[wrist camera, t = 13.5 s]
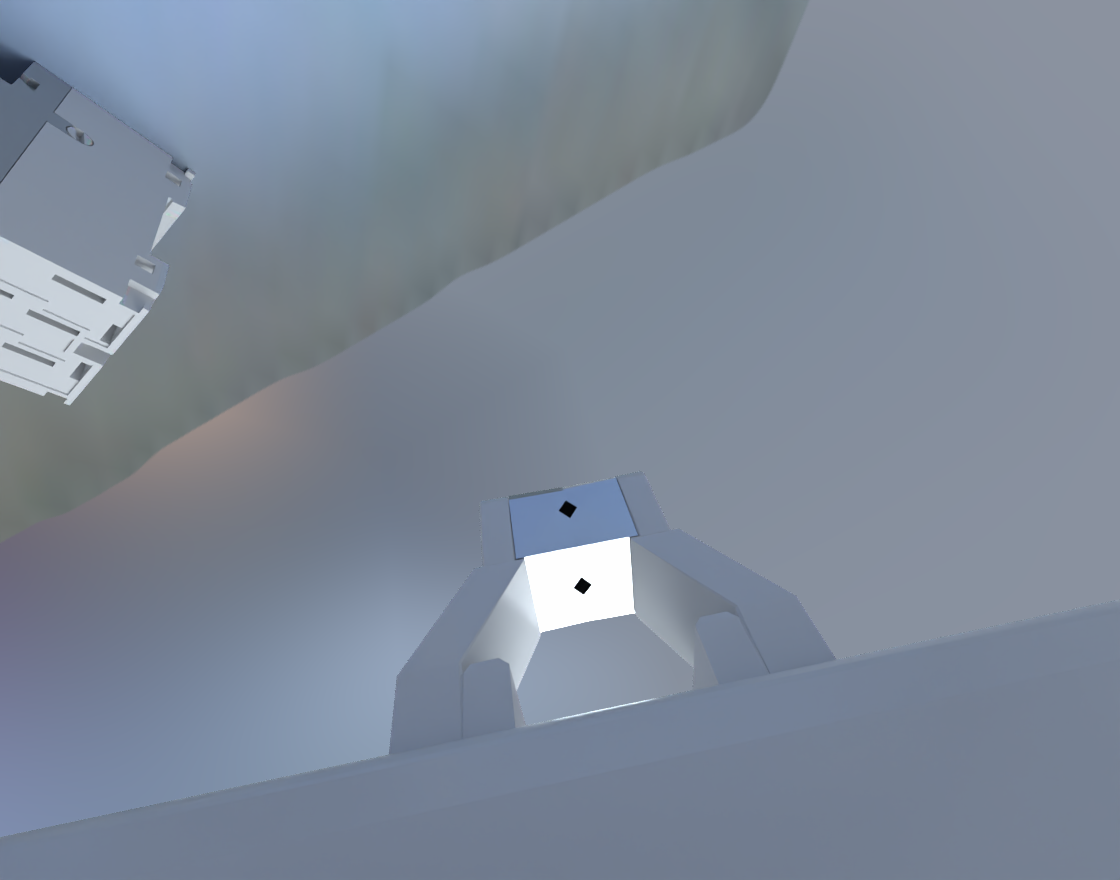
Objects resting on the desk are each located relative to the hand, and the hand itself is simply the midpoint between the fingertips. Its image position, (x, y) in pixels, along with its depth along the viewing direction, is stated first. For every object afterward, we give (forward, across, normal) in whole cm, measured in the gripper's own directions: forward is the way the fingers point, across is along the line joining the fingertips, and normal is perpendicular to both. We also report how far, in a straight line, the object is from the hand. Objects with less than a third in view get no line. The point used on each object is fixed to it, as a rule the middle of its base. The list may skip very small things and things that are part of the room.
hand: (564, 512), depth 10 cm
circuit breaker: (+33, +25, -7) cm, 42 cm away
